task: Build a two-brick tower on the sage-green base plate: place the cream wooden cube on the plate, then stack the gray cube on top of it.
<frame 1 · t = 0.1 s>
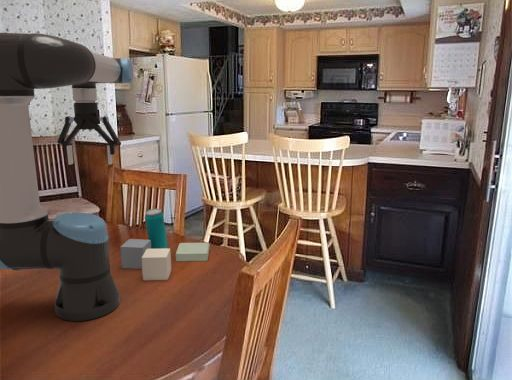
hand: (90, 164, 147), 28 cm above the table, fingers open, 13 cm apart
beverage can: (159, 253, 140), on the table
gray cube: (137, 264, 132), on the table
cream brick: (157, 275, 124), on the table
base plate: (193, 255, 139), on the table
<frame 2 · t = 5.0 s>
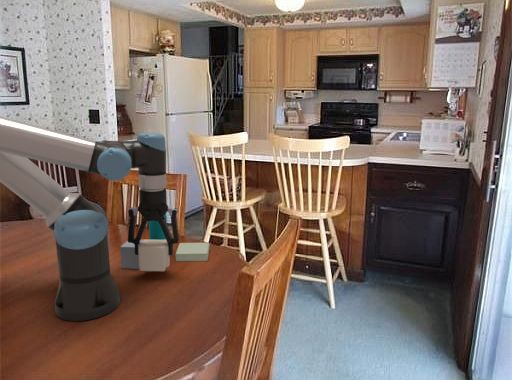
hand: (154, 264, 123), 3 cm above the table, fingers closed on cream brick, 7 cm apart
cream brick: (154, 266, 123), point 3 cm above the table, touching gripper
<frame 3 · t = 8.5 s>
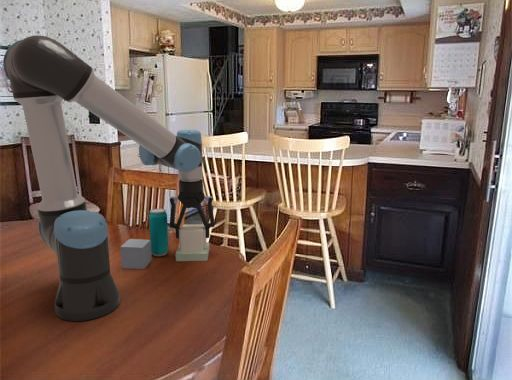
hand: (193, 247, 138), 3 cm above the table, fingers closed on cream brick, 7 cm apart
cream brick: (193, 248, 138), point 3 cm above the table, touching base plate, gripper
when the fingers open (3 cm above the table, at t = 8.8 s): cream brick stays where it is, resting on base plate.
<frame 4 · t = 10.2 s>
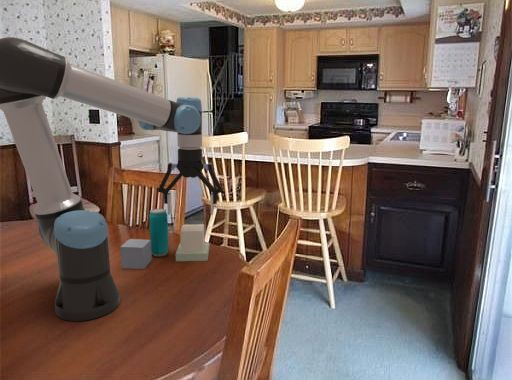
hand: (190, 213, 135), 14 cm above the table, fingers open, 13 cm apart
cream brick: (193, 248, 138), point 2 cm above the table, touching base plate
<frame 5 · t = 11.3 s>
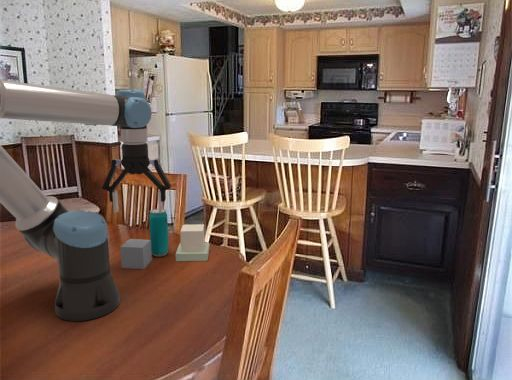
hand: (138, 211, 130), 16 cm above the table, fingers open, 13 cm apart
nothing on the table moved.
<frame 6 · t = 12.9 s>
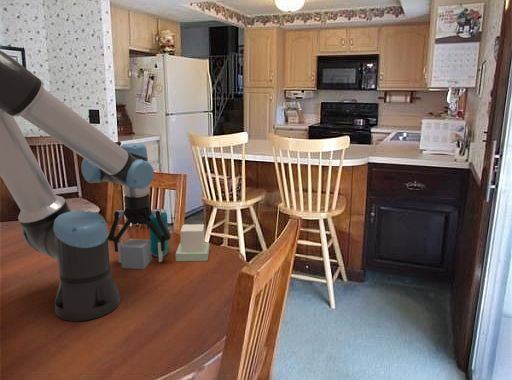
hand: (141, 260, 133), 0 cm above the table, fingers open, 12 cm apart
nothing on the table moved.
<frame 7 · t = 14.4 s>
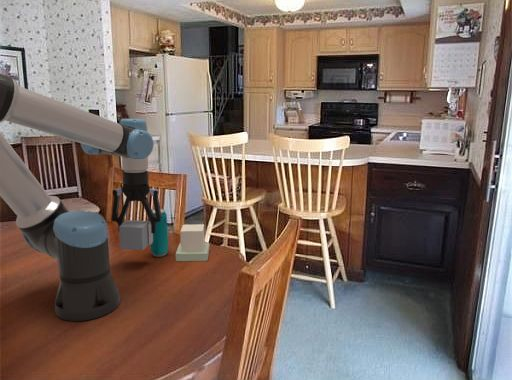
hand: (137, 242, 131), 7 cm above the table, fingers closed on gray cube, 7 cm apart
gray cube: (135, 245, 130), point 6 cm above the table, touching gripper
everything else where it was.
when the fingers open (10 cm above the table, at t = 18.0 s): gray cube stays where it is, resting on cream brick.
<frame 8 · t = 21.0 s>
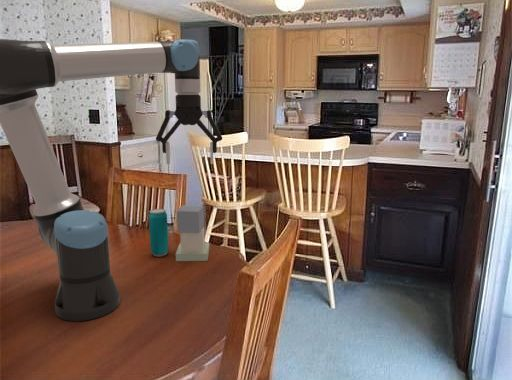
hand: (190, 163, 132), 31 cm above the table, fingers open, 13 cm apart
gray cube: (191, 229, 135), point 9 cm above the table, touching cream brick
cream brick: (193, 248, 138), point 2 cm above the table, touching base plate, gray cube
everything else where it was.
at the end: cream brick 0.1 cm off-centre on the base plate, point 2.5 cm above the base plate's base; gray cube 1.7 cm off-centre on the cream brick, point 7.0 cm above the cream brick's base; gray cube tilted 0° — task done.
